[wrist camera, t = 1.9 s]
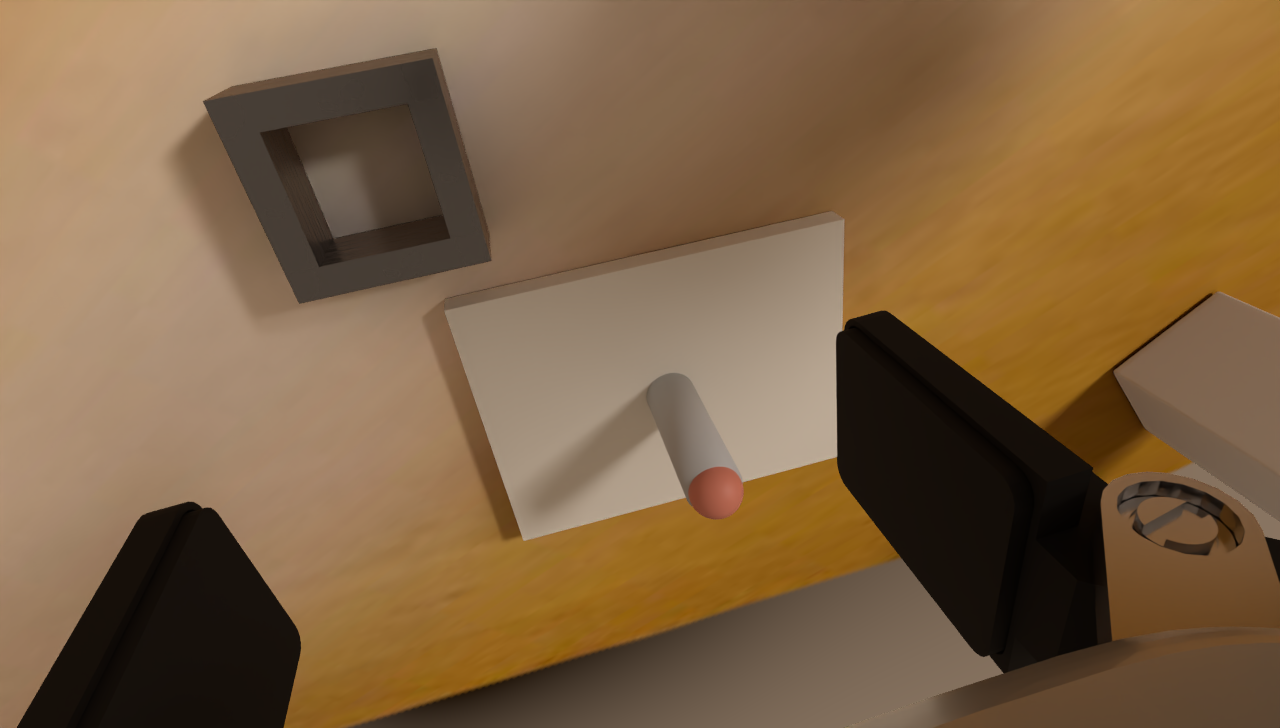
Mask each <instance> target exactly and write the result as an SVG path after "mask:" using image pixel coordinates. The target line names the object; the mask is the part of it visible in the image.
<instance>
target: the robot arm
mask: <svg viewBox="0 0 1280 728" xmlns="http://www.w3.org/2000/svg"><path fill="white" fill-rule="evenodd" d="M836 399H837V465H838V470H839V473H840V476H841V479H842V481H843V483H844V484H845V486H846V487H847V488H848V490H849V491H850V492H851V494H852V495H853V496H854V497H855V499H856V500H857V501H858V503H859V504H860V505H861V506H862V508H863V509H864V510H865V512H866V513H867V514H868V515H869V517H870V518H871V519H872V521H873V522H874V523H875V525H876V526H877V527H878V528H879V530H880V531H881V532H882V534H883V535H884V536H885V537H886V539H887V540H888V541H889V543H890V544H891V545H892V546H893V548H894V549H895V550H896V552H897V553H898V554H899V555H900V557H901V558H902V559H903V561H904V562H905V563H906V565H907V566H908V567H909V568H910V570H911V571H912V572H913V573H914V575H915V576H916V577H917V579H918V580H919V581H920V582H921V584H922V585H923V586H924V588H925V589H926V590H927V592H928V593H929V594H930V595H931V597H932V598H933V599H934V601H935V602H936V603H937V604H938V606H939V607H940V608H941V610H942V611H943V612H944V614H945V615H946V616H947V617H948V619H949V620H950V621H951V622H952V624H953V625H954V626H955V627H956V629H957V630H958V632H959V633H960V634H961V635H962V637H963V638H964V639H965V641H966V642H967V643H968V644H969V646H970V647H971V648H972V649H973V650H974V651H975V652H976V653H977V654H979V655H980V656H983V657H985V656H988V655H990V657H991V658H992V659H993V660H994V662H995V663H996V664H997V666H998V667H999V668H1000V669H1001V670H1002V672H1003V673H1004V674H1001V675H998V676H995V677H992V678H989V679H985V680H983V681H979V682H976V683H973V684H971V685H967V686H964V687H961V688H958V689H955V690H952V691H949V692H946V693H943V694H939V695H937V696H934V697H931V698H928V699H925V700H922V701H919V702H916V703H913V704H911V705H908V706H905V707H902V708H899V709H896V710H893V711H890V712H887V713H884V714H882V715H879V716H876V717H873V718H870V719H867V720H864V721H861V722H858V723H856V724H853V725H850V726H847V727H844V728H1280V540H1277V539H1272V538H1267V537H1265V536H1264V533H1263V530H1262V529H1261V527H1260V525H1259V524H1258V522H1257V520H1256V518H1255V517H1254V515H1253V514H1252V513H1251V512H1250V511H1249V510H1248V509H1246V508H1245V507H1244V506H1243V505H1242V504H1241V503H1240V502H1239V501H1238V500H1236V499H1234V498H1233V497H1231V496H1229V495H1228V494H1226V493H1224V492H1223V491H1221V490H1219V489H1218V488H1215V487H1212V486H1210V485H1208V484H1205V483H1203V482H1200V481H1198V480H1195V479H1192V478H1187V477H1183V476H1179V475H1174V474H1170V473H1157V472H1142V473H1134V474H1127V475H1124V476H1122V477H1120V478H1117V479H1115V480H1112V481H1111V482H1110V484H1109V485H1108V484H1107V483H1106V482H1105V481H1103V480H1102V479H1101V478H1099V477H1098V476H1097V475H1095V474H1094V473H1093V472H1092V470H1093V467H1091V466H1090V465H1089V464H1087V463H1086V462H1085V461H1083V460H1082V459H1081V458H1080V457H1078V456H1077V455H1076V454H1074V453H1073V452H1072V451H1070V450H1069V449H1068V448H1066V447H1065V446H1064V445H1063V444H1061V443H1060V442H1059V441H1057V440H1056V439H1055V438H1053V437H1052V436H1051V435H1049V434H1048V433H1047V432H1045V431H1044V430H1043V429H1042V428H1040V427H1039V426H1038V425H1036V424H1035V423H1034V422H1032V421H1031V420H1030V419H1028V418H1027V417H1026V416H1024V415H1023V414H1022V413H1021V412H1019V411H1018V410H1017V409H1015V408H1014V407H1013V406H1011V405H1010V404H1009V403H1007V402H1006V401H1005V400H1003V399H1002V398H1001V397H1000V396H998V395H997V394H996V393H994V392H993V391H992V390H990V389H989V388H988V387H986V386H985V385H984V384H983V383H981V382H980V381H979V380H977V379H976V378H975V377H973V376H972V375H971V374H969V373H968V372H967V371H965V370H964V369H963V368H962V367H960V366H959V365H958V364H956V363H955V362H954V361H952V360H951V359H950V358H948V357H947V356H946V355H944V354H943V353H942V352H941V351H939V350H938V349H937V348H935V347H934V346H933V345H931V344H930V343H929V342H927V341H926V340H925V339H924V338H922V337H921V336H920V335H918V334H917V333H916V332H914V331H913V330H912V329H910V328H909V327H908V326H906V325H905V324H904V323H903V322H901V321H900V320H899V319H897V318H896V317H895V316H893V315H892V314H891V313H889V312H887V311H878V312H875V313H871V314H868V315H864V316H860V317H857V318H853V319H850V320H848V321H847V322H846V325H845V329H844V331H841V332H839V333H838V334H837V337H836ZM300 651H301V641H300V636H299V632H298V630H297V628H296V626H295V624H294V623H293V622H292V620H291V619H290V617H289V616H288V614H287V613H286V611H285V610H284V609H283V607H282V606H281V604H280V603H279V601H278V600H277V598H276V597H275V596H274V594H273V593H272V591H271V590H270V588H269V587H268V585H267V584H266V583H265V581H264V580H263V578H262V577H261V575H260V574H259V572H258V571H257V570H256V568H255V567H254V565H253V564H252V562H251V561H250V559H249V558H248V556H247V555H246V554H245V552H244V551H243V549H242V548H241V546H240V545H239V543H238V542H237V541H236V539H235V538H234V536H233V535H232V533H231V532H230V530H229V529H228V528H227V526H226V525H225V523H224V522H223V520H222V519H221V517H220V516H219V515H218V513H217V512H216V511H215V510H213V509H212V508H203V509H202V507H201V506H200V505H198V504H196V503H194V502H186V503H182V504H179V505H175V506H171V507H168V508H164V509H160V510H157V511H153V512H150V513H147V514H145V515H142V516H141V517H140V519H139V520H138V521H137V523H136V524H135V526H134V528H133V529H132V531H131V533H130V535H129V536H128V538H127V540H126V541H125V543H124V545H123V547H122V548H121V550H120V552H119V553H118V555H117V557H116V559H115V560H114V562H113V564H112V565H111V567H110V569H109V571H108V572H107V574H106V576H105V577H104V579H103V581H102V583H101V584H100V586H99V588H98V589H97V591H96V593H95V595H94V596H93V598H92V600H91V601H90V603H89V605H88V607H87V608H86V610H85V612H84V613H83V615H82V617H81V619H80V620H79V622H78V624H77V625H76V627H75V629H74V631H73V632H72V634H71V636H70V637H69V639H68V641H67V643H66V644H65V646H64V648H63V649H62V651H61V653H60V654H59V656H58V658H57V660H56V661H55V663H54V665H53V666H52V668H51V670H50V672H49V673H48V675H47V677H46V678H45V680H44V682H43V684H42V685H41V687H40V689H39V690H38V692H37V694H36V696H35V697H34V699H33V701H32V702H31V704H30V706H29V708H28V709H27V711H26V713H25V714H24V716H23V718H22V720H21V721H20V723H19V725H18V726H17V728H283V727H284V723H285V719H286V714H287V710H288V705H289V701H290V697H291V692H292V688H293V683H294V679H295V675H296V670H297V666H298V661H299V657H300Z"/></svg>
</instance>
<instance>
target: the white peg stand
mask: <svg viewBox="0 0 1280 728" xmlns="http://www.w3.org/2000/svg"><path fill="white" fill-rule="evenodd" d="M843 267H844V219H843V218H842V217H840V216H839V215H837V214H836V213H835V212H833V211H830V212H825V213H821V214H816V215H812V216H808V217H803V218H799V219H794V220H790V221H786V222H781V223H777V224H772V225H768V226H764V227H759V228H755V229H750V230H746V231H742V232H737V233H733V234H728V235H724V236H720V237H715V238H711V239H706V240H702V241H698V242H693V243H689V244H684V245H680V246H676V247H671V248H667V249H662V250H658V251H654V252H649V253H645V254H640V255H636V256H631V257H627V258H623V259H618V260H614V261H609V262H605V263H601V264H596V265H592V266H587V267H583V268H579V269H574V270H570V271H565V272H561V273H557V274H552V275H548V276H543V277H539V278H535V279H530V280H526V281H521V282H517V283H513V284H508V285H504V286H499V287H495V288H491V289H486V290H482V291H477V292H473V293H469V294H464V295H460V296H455V297H451V298H447V299H445V304H444V312H445V315H446V318H447V321H448V324H449V327H450V330H451V333H452V335H453V338H454V341H455V344H456V347H457V350H458V353H459V356H460V359H461V361H462V364H463V367H464V370H465V373H466V376H467V379H468V382H469V385H470V387H471V390H472V393H473V396H474V399H475V402H476V405H477V408H478V411H479V413H480V416H481V419H482V422H483V425H484V428H485V431H486V434H487V437H488V439H489V442H490V445H491V448H492V451H493V454H494V457H495V460H496V463H497V465H498V468H499V471H500V474H501V477H502V480H503V483H504V486H505V489H506V491H507V494H508V497H509V500H510V503H511V506H512V509H513V512H514V515H515V517H516V520H517V523H518V526H519V529H520V532H521V535H522V538H523V541H525V540H529V539H533V538H537V537H540V536H544V535H548V534H551V533H555V532H559V531H563V530H566V529H570V528H574V527H578V526H581V525H585V524H589V523H592V522H596V521H600V520H604V519H607V518H611V517H615V516H618V515H622V514H626V513H630V512H633V511H637V510H641V509H645V508H648V507H652V506H656V505H659V504H663V503H667V502H671V501H674V500H678V499H682V498H685V497H686V499H687V501H688V502H689V504H690V505H691V506H693V507H694V509H695V510H696V511H697V512H698V513H699V514H701V515H702V516H704V517H707V518H710V519H723V518H726V517H728V516H730V515H732V514H733V513H734V512H735V511H736V510H737V509H738V508H739V506H740V504H741V502H742V499H743V484H742V482H745V481H749V480H753V479H756V478H760V477H764V476H767V475H771V474H775V473H779V472H782V471H786V470H790V469H793V468H797V467H801V466H805V465H808V464H812V463H816V462H820V461H823V460H827V459H831V458H834V457H837V399H836V337H837V334H838V333H839V332H841V331H842V318H843Z"/></svg>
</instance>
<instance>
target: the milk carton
mask: <svg viewBox="0 0 1280 728" xmlns="http://www.w3.org/2000/svg"><path fill="white" fill-rule="evenodd" d="M1114 375H1115V377H1116V379H1117V380H1118V382H1119V384H1120V386H1121V387H1122V389H1123V391H1124V393H1125V395H1126V396H1127V398H1128V400H1129V402H1130V403H1131V405H1132V407H1133V409H1134V410H1135V412H1136V414H1137V416H1138V418H1139V419H1140V421H1141V423H1142V425H1143V426H1144V428H1145V429H1146V430H1148V431H1149V432H1150V433H1152V434H1153V435H1155V436H1156V437H1158V438H1159V439H1160V440H1162V441H1163V442H1165V443H1166V444H1168V445H1169V446H1171V447H1172V448H1174V449H1175V450H1176V451H1178V452H1179V453H1181V454H1182V455H1184V456H1185V457H1187V458H1188V459H1190V460H1191V461H1192V462H1194V463H1195V464H1197V465H1198V466H1200V467H1201V468H1203V469H1204V470H1206V471H1207V472H1208V473H1210V474H1211V475H1213V476H1214V477H1216V478H1217V479H1219V480H1220V481H1221V482H1223V483H1224V484H1226V485H1227V486H1229V487H1230V488H1232V489H1233V490H1235V491H1236V492H1238V493H1239V494H1240V495H1242V496H1243V497H1245V498H1246V499H1248V500H1249V501H1250V502H1252V503H1253V504H1255V505H1256V506H1258V507H1259V508H1261V509H1262V510H1264V511H1265V512H1266V513H1268V514H1269V515H1271V516H1272V517H1274V518H1275V519H1277V520H1278V521H1280V318H1279V317H1276V316H1274V315H1272V314H1270V313H1267V312H1265V311H1263V310H1260V309H1258V308H1256V307H1254V306H1251V305H1249V304H1247V303H1244V302H1242V301H1240V300H1238V299H1235V298H1233V297H1231V296H1228V295H1226V294H1224V293H1221V292H1216V293H1215V294H1214V295H1212V296H1211V297H1210V298H1208V299H1207V300H1206V301H1204V302H1203V303H1202V304H1200V305H1199V306H1198V307H1196V308H1195V309H1194V310H1192V311H1191V312H1190V313H1188V314H1187V315H1186V316H1185V317H1183V318H1182V319H1181V320H1179V321H1178V322H1177V323H1175V324H1174V325H1173V326H1171V327H1170V328H1169V329H1167V330H1166V331H1165V332H1164V333H1162V334H1161V335H1160V336H1158V337H1157V338H1156V339H1154V340H1153V341H1152V342H1150V343H1149V344H1148V345H1146V346H1145V347H1144V348H1143V349H1141V350H1140V351H1139V352H1137V353H1136V354H1135V355H1133V356H1132V357H1131V358H1129V359H1128V360H1127V361H1126V362H1124V363H1123V364H1122V365H1120V366H1119V367H1118V368H1116V369H1115V370H1114Z"/></svg>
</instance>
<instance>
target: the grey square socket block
mask: <svg viewBox="0 0 1280 728" xmlns="http://www.w3.org/2000/svg"><path fill="white" fill-rule="evenodd" d="M203 102H204V105H205V107H206V109H207V111H208V113H209V115H210V117H211V119H212V121H213V123H214V126H215V128H216V130H217V132H218V134H219V136H220V138H221V140H222V142H223V144H224V147H225V149H226V151H227V153H228V155H229V157H230V159H231V161H232V163H233V165H234V168H235V170H236V172H237V174H238V176H239V178H240V180H241V182H242V184H243V186H244V189H245V191H246V193H247V195H248V197H249V199H250V201H251V203H252V205H253V208H254V210H255V212H256V214H257V216H258V218H259V220H260V222H261V224H262V226H263V229H264V231H265V233H266V235H267V237H268V239H269V241H270V243H271V245H272V247H273V250H274V252H275V254H276V256H277V258H278V260H279V262H280V264H281V266H282V268H283V271H284V273H285V275H286V277H287V279H288V281H289V283H290V285H291V287H292V289H293V292H294V294H295V296H296V298H297V300H298V302H299V304H300V303H305V302H309V301H314V300H318V299H323V298H327V297H332V296H336V295H340V294H345V293H349V292H354V291H358V290H363V289H367V288H372V287H376V286H381V285H385V284H390V283H394V282H399V281H403V280H408V279H412V278H417V277H421V276H426V275H430V274H435V273H439V272H444V271H448V270H453V269H457V268H462V267H466V266H471V265H475V264H480V263H484V262H489V261H491V250H490V236H489V231H488V228H487V224H486V221H485V217H484V214H483V210H482V207H481V203H480V200H479V196H478V193H477V189H476V186H475V182H474V179H473V175H472V171H471V168H470V164H469V161H468V157H467V154H466V150H465V147H464V143H463V140H462V136H461V133H460V129H459V126H458V122H457V119H456V115H455V112H454V108H453V105H452V101H451V98H450V94H449V91H448V87H447V84H446V80H445V77H444V73H443V70H442V66H441V63H440V59H439V56H438V52H437V48H434V49H429V50H424V51H418V52H413V53H408V54H402V55H397V56H392V57H386V58H381V59H376V60H370V61H365V62H360V63H354V64H349V65H344V66H338V67H333V68H328V69H322V70H317V71H312V72H306V73H301V74H296V75H290V76H285V77H280V78H274V79H269V80H264V81H258V82H253V83H248V84H242V85H237V86H232V87H230V88H228V89H226V90H224V91H222V92H220V93H218V94H216V95H214V96H212V97H210V98H208V99H206V100H205V101H203ZM404 104H408V106H409V109H410V112H411V115H412V118H413V122H414V125H415V128H416V131H417V134H418V137H419V140H420V144H421V147H422V150H423V153H424V156H425V159H426V162H427V166H428V169H429V172H430V175H431V178H432V181H433V184H434V187H435V191H436V194H437V197H438V200H439V203H440V206H441V209H442V213H443V215H441V216H436V217H432V218H427V219H422V220H418V221H413V222H408V223H404V224H399V225H394V226H390V227H385V228H380V229H376V230H371V231H366V232H362V233H357V234H352V235H348V236H343V237H338V238H334V239H333V237H332V235H331V232H330V230H329V227H328V225H327V223H326V220H325V218H324V215H323V213H322V211H321V208H320V206H319V204H318V201H317V199H316V196H315V194H314V192H313V189H312V187H311V185H310V182H309V180H308V177H307V175H306V173H305V170H304V168H303V165H302V163H301V161H300V158H299V156H298V154H297V151H296V149H295V146H294V144H293V142H292V139H291V137H290V135H289V132H288V130H287V127H291V126H296V125H301V124H306V123H311V122H316V121H322V120H327V119H332V118H337V117H342V116H347V115H352V114H357V113H363V112H368V111H373V110H378V109H383V108H388V107H393V106H398V105H404Z"/></svg>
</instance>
